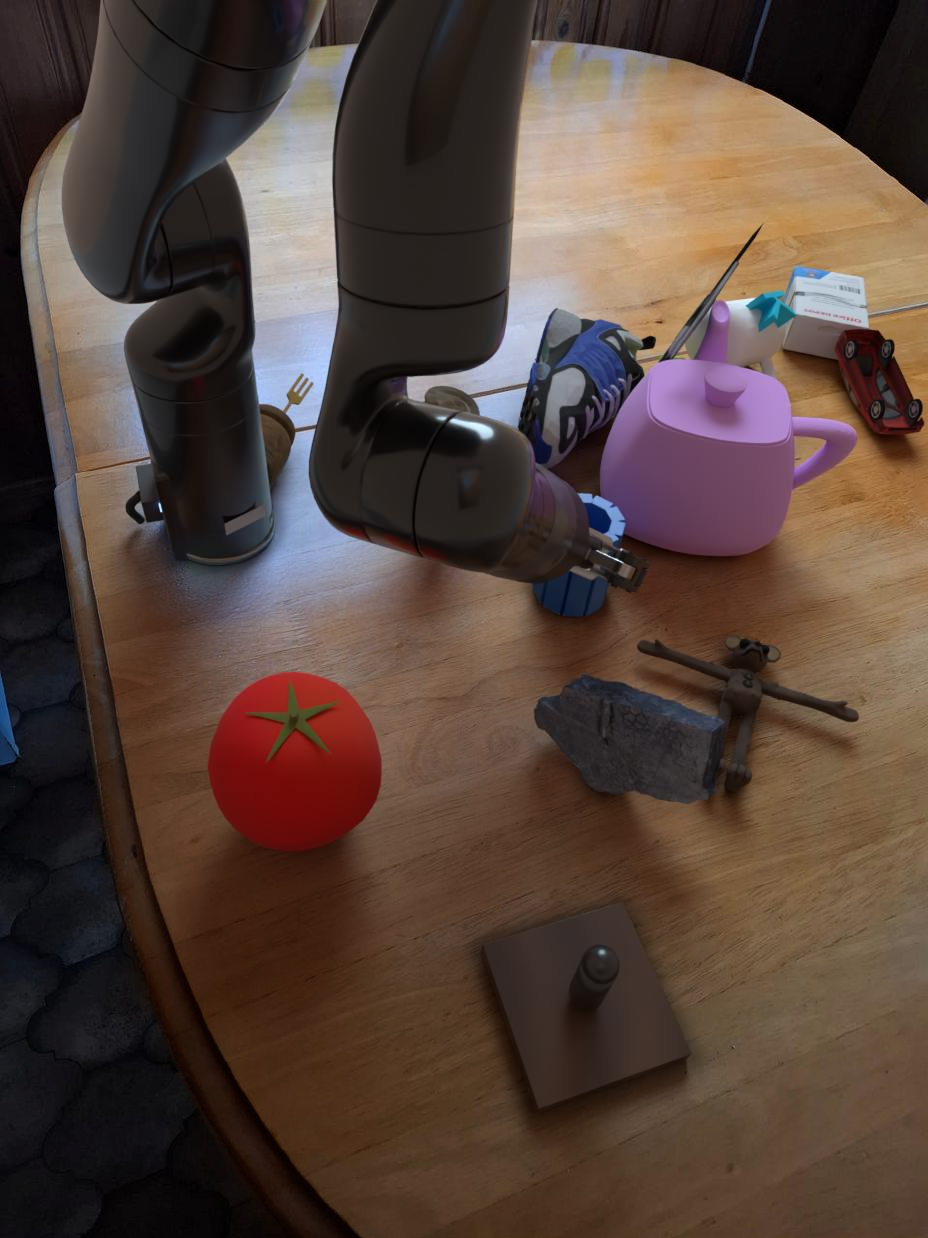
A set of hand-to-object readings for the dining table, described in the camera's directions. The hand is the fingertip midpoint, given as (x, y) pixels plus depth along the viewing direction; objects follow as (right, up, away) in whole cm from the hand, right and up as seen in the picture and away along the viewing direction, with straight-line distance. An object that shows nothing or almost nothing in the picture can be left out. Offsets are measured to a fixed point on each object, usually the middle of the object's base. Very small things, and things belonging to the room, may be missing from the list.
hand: (572, 545), depth 74 cm
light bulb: (-11, +2, +11) cm, 16 cm away
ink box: (+36, +35, +40) cm, 64 cm away
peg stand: (-1, -30, -16) cm, 34 cm away
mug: (+18, +22, +21) cm, 35 cm away
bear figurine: (+13, -14, -1) cm, 19 cm away
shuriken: (+6, +21, +18) cm, 28 cm away
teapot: (+12, +5, +15) cm, 20 cm away
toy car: (+37, +21, +24) cm, 49 cm away
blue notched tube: (+1, -3, +7) cm, 8 cm away
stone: (+2, -18, -5) cm, 18 cm away
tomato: (-20, -20, -9) cm, 30 cm away
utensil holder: (-29, +7, +10) cm, 31 cm away
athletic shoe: (-2, +18, +19) cm, 26 cm away
